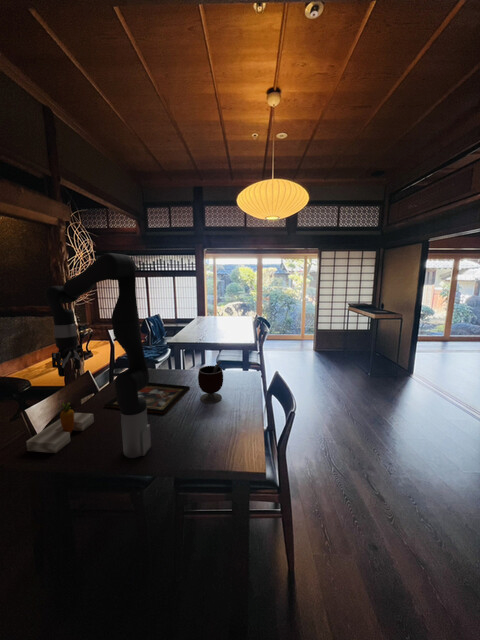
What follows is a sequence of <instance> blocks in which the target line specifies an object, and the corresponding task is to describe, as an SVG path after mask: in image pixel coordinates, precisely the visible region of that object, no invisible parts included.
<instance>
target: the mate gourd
mask: <svg viewBox="0 0 480 640" xmlns="http://www.w3.org/2000/svg"><path fill="white" fill-rule="evenodd" d="M221 363H222V360H220V361H218V362H216V364H214V365H206V366H201V367H200V368H199V369H198V375H197V382H198V387H199V389H200V390H201V391H202V392H203V394H202V395H201V396H199V400H200V402H201V403H203V404H206V405H207V404H208V405H209V404H210V405H213V404H217V403H219V402H221V401H222V399H223V396H222V395H221V394H220V393H218V392H219V391H221V389H222V387H223V384H224V372H223V368H222V367H220V364H221Z"/></svg>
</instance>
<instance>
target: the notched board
mask: <svg viewBox="0 0 480 640" xmlns="http://www.w3.org/2000/svg"><path fill="white" fill-rule="evenodd" d="M94 422H95V418H94V413H84V412H74V427H73V430H72V431H77V432H84V431H85V430H86V429H88V428H89V426H91V425H92V424H93V423H94ZM70 442H72V441H71V435H70V432H65V431H64V430H63V427H62V425H61V420H60V418H58V419H57V420H56V421H55V422H53V423H52V424H50V425H48V426H47V427H45V428H44V429H43V430H41V431H39V432H38V433H37V434H35V435H34V436H32V437H31V438H29V439H28V440H26V449H27V451H28V452H36V453H37V452H39V453H50V454H51V453H52V454H57V453H58V452H60V450H61V449H63V448H64V447H66V445H68V444H69V443H70Z"/></svg>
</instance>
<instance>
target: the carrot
mask: <svg viewBox="0 0 480 640" xmlns="http://www.w3.org/2000/svg"><path fill="white" fill-rule="evenodd" d="M70 404H71V402H67V404H65V403H64V402H62V403H61V406H62V408H63V410H62V411H61V412H60V414H59V419H60V420H61V425H62V427H63V430H64V431H65V432H70V436H71V435H72V433H73V431H74V430H73V427H74V413H75V411H74V410H73V409H71V408H72V407H71V406H70ZM69 406H70V407H69Z"/></svg>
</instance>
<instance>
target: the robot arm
mask: <svg viewBox="0 0 480 640" xmlns="http://www.w3.org/2000/svg"><path fill="white" fill-rule="evenodd" d="M136 279H137V278H136V266H135V263H134V260H133V259H132V258H131V257H130V256H129V255H127V254H125V253H124V254H122V253H115V252H114V253H112V252H106V253H103V254H102V255H100V256H98V258H97V259H95V260H94V261H93V262H92V263H91V264H90V265H88V267H87V268H86V269H85V270H83V271H82V272H80V273H79V274H77V275H75V276H74V277H72V278H70V279H68V280H66V281H65V282H64V284H63V285H51V286H48V287H47V289H45V293H44V297H45V300H46V303H47V305H48V306H49V309H50V311H51V313H52V314H51V315H52V317H53V325H54V328H53V329H54V341H55V347H56V348H57V349H58V350H57V352H51V364H52V365H51V366H52V368H53V369H57V375H58V376H59V377H65V376H66V368H65V365H66V364H67V362H68V361H69V360H71V359H72V360H74V361H73V367H74V370H80V369H81V360H82V359H83V358H84V357H85V356H84V351H83V350H84V348H83V345H82V344H79V341H78V340H79V339H78V334H77V333H78V331H77V326H76V320H75V313H74V311H73V310H72V309H68V308H64V307H63V305H62V304H70V303H74V302H76V301H77V300H79V298H80V297H81V296H83V295H85V294H87V293H89V292H91V291H92V290H93V289H94V288H95V286H96V284H97V283H100V282H103V281H117V285H118V297H117V300H116V303H115V305H114V308H113V309H112V314H111V325H112V332H113V336H114V339H115V340H116V341H117V343H118V345H120V348H122V349H123V351H124V352H125V354H126V357H127V362H128V368H127V369H126V370H124V371H122V372H119V373H118V374H117V376H116V377H115V381H114V383H115V385H114V386H115V394H116V395H115V396H116V397H117V402H118V405H119V407H120V409H119V410H120V421H121V423H120V424H121V437H122V450H123V455H124V457H126V458H129V459H130V458H131V459H135V458H139V457H144V456H145V455H146V454H147V453H148V451H149V450H150V449H151V447H152V441H151V438H152V437H151V425H150V423H149V424H148V412H147V405H146V400H145V399H143V398H139V397H138V391H140V390H141V389H143V388H144V387H146V386H147V384H148V382H149V381H150V374H149V368H148V365H147V362H146V357H145V350H144V345H143V338H142V332H141V322H140V317H139V310H138V300H137V291H136V287H137V285H136Z"/></svg>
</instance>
